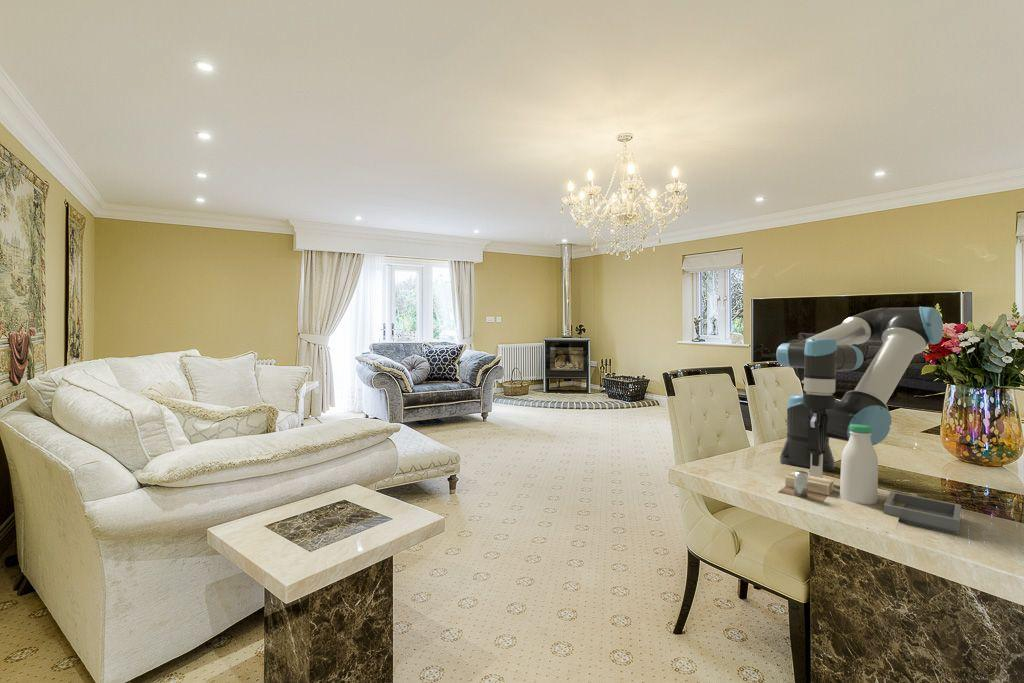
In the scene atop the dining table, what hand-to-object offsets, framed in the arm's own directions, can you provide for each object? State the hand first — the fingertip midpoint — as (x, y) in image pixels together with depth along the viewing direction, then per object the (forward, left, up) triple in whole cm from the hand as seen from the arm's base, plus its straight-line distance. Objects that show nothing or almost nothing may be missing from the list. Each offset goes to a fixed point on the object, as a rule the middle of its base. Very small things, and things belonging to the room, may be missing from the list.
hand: (816, 476), depth 137 cm
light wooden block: (+8, 0, -1) cm, 8 cm away
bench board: (+11, 0, -3) cm, 11 cm away
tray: (+9, +24, -3) cm, 25 cm away
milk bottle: (+8, +11, -3) cm, 14 cm away
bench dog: (+16, 0, -1) cm, 16 cm away
